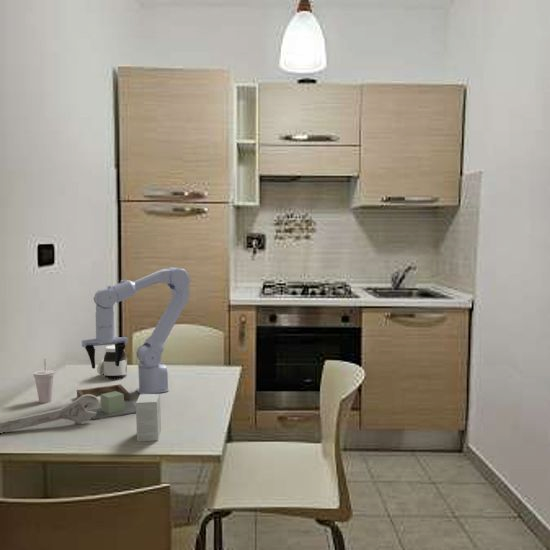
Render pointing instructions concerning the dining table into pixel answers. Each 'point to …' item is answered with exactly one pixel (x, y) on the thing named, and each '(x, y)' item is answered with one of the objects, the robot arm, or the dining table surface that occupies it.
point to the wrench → (53, 415)
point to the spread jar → (112, 364)
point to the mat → (127, 410)
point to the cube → (112, 402)
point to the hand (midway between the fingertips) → (105, 366)
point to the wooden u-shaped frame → (104, 391)
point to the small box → (148, 417)
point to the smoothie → (44, 384)
